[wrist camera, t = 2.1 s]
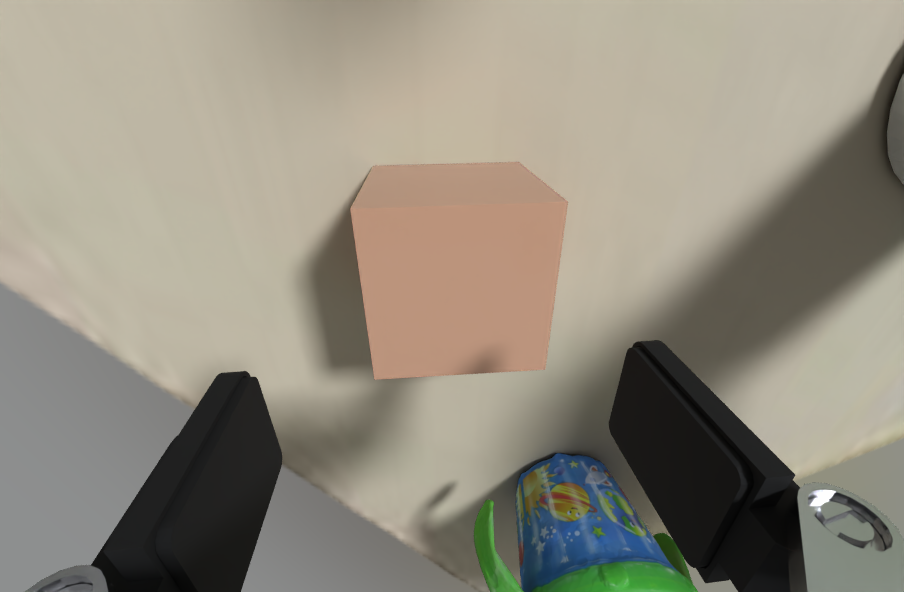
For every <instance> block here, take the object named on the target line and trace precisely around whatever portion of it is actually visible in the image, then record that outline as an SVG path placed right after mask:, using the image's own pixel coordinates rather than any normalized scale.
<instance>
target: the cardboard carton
mask: <svg viewBox="0 0 904 592" xmlns="http://www.w3.org/2000/svg"><path fill="white" fill-rule="evenodd" d="M567 206H568V201H567V200H565V199H564V198H563V197H562V196H560V195H559V194H558V193H557V192H555V191H554V190H553V189H552V188H551V187H549V186H548V185H547V184H546V183H544V182H543V181H542V180H541V179H539V178H538V177H537V176H536V175H535V174H533V173H532V172H531V171H530V170H528V169H527V168H526V167H525V166H523V165H522V164H521V163H520V162H505V163H467V164H428V165H390V166H373V167H372V169H371V171H370V173H369V174H368V176H367V178H366V180H365V182H364V184H363V186H362V188H361V189H360V191H359V193H358V195H357V197H356V199H355V201H354V203H353V204H352V206H351V208H350V211H351V218H352V225H353V232H354V239H355V246H356V253H357V260H358V267H359V274H360V281H361V288H362V295H363V302H364V309H365V316H366V323H367V331H368V338H369V345H370V352H371V359H372V366H373V373H374V380H376V379H393V378H410V377H427V376H444V375H461V374H478V373H494V372H511V371H528V370H545V367H546V360H547V353H548V345H549V338H550V331H551V323H552V316H553V309H554V301H555V294H556V287H557V279H558V272H559V264H560V257H561V250H562V242H563V235H564V228H565V220H566V213H567Z"/></svg>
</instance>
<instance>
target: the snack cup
mask: <svg viewBox="0 0 904 592" xmlns="http://www.w3.org/2000/svg"><path fill="white" fill-rule="evenodd" d="M515 500H516V514H517V533H518V548H519V559H520V560H519V561H520V576H521V586H522V589H521V587H520V586H519V584H518V583H517V581H516V580H515V578H514V577H513V575H512V574H511V572H510V571H509V570H508V568H507V567H506V565H505V564H504V562H503V561H502V559H501V558H500V556H499V555H498V554H497V552H496V550H495V545H494V520H493V506H494V502H493V501H492V500H486V501H485V503H484V505H483V507H482V508H481V509H480V511H479V513H478V516H477V519H476V522H475V528H474V542H475V548H476V553H477V556H478V559H479V563H480V567H481V570H482V572H483V575H484V578H485V580H486V583H487V585H488V587H489V590H490V592H698V591H697V589H696V588H695V586H694V585H693V583H692V580H691V577H690V574H689V571H688V569H687V566H686V564H685V561H684V558H683V556H682V554H681V552H680V550H679V549H678V547H677V545H676V544H675V542H674V541H673V539H672V538H671V537H670V536H668V535H667V534H665V533H659V534H656V535H654V536H652V534H651V533H650V532H649V531H648V530H647V527H646V525H645V524H644V522H643V521H642V520H641V519H640V518H639V516H638V515H637V513H636V510H635V509H634V507H633V506H632V504H631V503H630V501H629V500H628V498H627V497H626V495H625V494H624V492H623V491H622V489H621V488H620V487H619V486H618V484H617V483H616V481H615V480H614V479H613V477H612V476H611V474H610V472H609V471H608V470H607V468H606V467H605V466H604V464H602V463H601V462H600V461H595V460H594V459H593V458H590V457H588V456H582V455H575V456H570V455H566V454H561V453H557V454H555V455H554V456H553V457H552V458H551V459H548V460H545V461H542V462H539V463H537V464H536V465H534V466H533V467H531V468H530V469H529V470H528V471H526V472H525V473H522V474H521V476H520V478H519V480H518V486H517V490H516V498H515Z"/></svg>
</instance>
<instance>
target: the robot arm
mask: <svg viewBox="0 0 904 592" xmlns="http://www.w3.org/2000/svg"><path fill="white" fill-rule="evenodd" d="M887 145H888V156H889V159H890V162H891V165H892V168H893V171H894V173H895V174H896V176H897V177H898V178H899V180H900V181H901V182H902V184H903V185H904V73H903V75H902V77H901V79H900V81H899V85H898V88H897V91H896V94H895V97H894V100H893V103H892V106H891V110H890V116H889V123H888V129H887ZM609 428H610V432H611V435H612V437H613V438H614V440H615V442H616V443H617V445H618V447H619V449H620V450H621V452H622V454H623V455H624V457H625V459H626V460H627V462H628V464H629V466H630V467H631V469H632V471H633V472H634V474H635V476H636V477H637V479H638V481H639V483H640V484H641V486H642V488H643V489H644V491H645V493H646V494H647V496H648V498H649V499H650V501H651V503H652V505H653V506H654V508H655V510H656V511H657V513H658V515H659V516H660V518H661V520H662V522H663V523H664V525H665V527H666V528H667V530H668V532H669V533H670V535H671V537H672V538H673V540H674V542H675V544H676V545H677V547H678V549H679V550H680V552H681V554H682V555H683V557H684V559H685V560H686V562H687V563H688V564H689V565H690V566H691V567H693V568H696V569H697V570H698V572H699V574H700V575H701V577H702V579H703V580H704V582H705V583H711V582H719V581H726V580H729V579H730V580H731V581H732V583H733V584H734V586H735V588H736V589H737V590H738V592H904V539H903V538H902V536H901V534H900V532H899V530H898V529H897V527H896V526H895V525H894V524H893V523H892V522H891V521H890V520H889V518H888V517H887V516H886V515H884V514H883V513H882V512H881V511H880V510H878V509H877V508H876V507H875V506H873V505H872V504H871V503H869V502H867V501H866V500H864V499H862V498H861V497H859V496H858V495H856V494H853V493H851V492H849V491H847V490H844V489H843V488H840V487H837V486H833V485H830V484H827V483H816V482H813V483H809V484H804V485H803V486H802V487H801V488H800V487H799V486H798V485H797V484H796V483H795V482H794V481H793V478H794V476H795V474H794V473H793V472H792V471H791V470H790V469H789V468H788V467H787V466H786V465H785V464H784V463H783V462H782V461H781V460H780V459H779V458H778V457H777V456H776V455H775V454H774V453H773V452H772V451H771V450H770V449H769V448H768V447H767V446H766V445H765V444H764V443H763V442H762V441H761V440H760V439H759V438H758V437H757V436H756V435H755V434H754V433H753V432H752V431H751V430H750V429H749V428H748V427H747V426H746V425H745V424H744V423H743V422H742V421H741V420H740V419H739V418H738V417H737V416H736V415H735V414H734V413H733V412H732V411H731V410H730V409H729V408H728V407H727V406H726V405H725V404H724V403H723V402H722V401H721V400H720V399H719V398H718V397H717V396H716V395H715V394H714V393H713V392H712V391H711V390H710V389H709V388H708V387H707V386H706V385H705V384H704V383H703V382H702V381H701V380H700V379H699V378H698V377H697V376H696V375H695V374H694V373H693V372H692V371H691V370H690V369H689V368H688V367H687V366H686V365H685V364H684V363H683V362H682V361H681V360H680V359H679V358H678V357H677V356H676V355H675V354H674V353H673V352H672V351H671V350H670V349H669V348H668V347H667V346H666V345H665V344H664V343H663V342H661V341H658V340H654V341H641V342H636V343H635V344H634V345H633V347H632V348H629V349H628V351H627V353H626V357H625V361H624V365H623V369H622V373H621V377H620V381H619V385H618V389H617V393H616V396H615V400H614V404H613V408H612V412H611V416H610V420H609ZM281 465H282V452H281V449H280V446H279V443H278V440H277V437H276V434H275V430H274V427H273V424H272V421H271V418H270V415H269V412H268V409H267V406H266V403H265V400H264V397H263V394H262V391H261V388H260V385H259V382H258V379H257V378H256V377H250V374H249V373H248V372H246V371H242V372H228V373H220V374H218V375H217V377H216V378H215V379H214V381H213V383H212V384H211V386H210V387H209V389H208V390H207V392H206V393H205V395H204V396H203V398H202V400H201V401H200V403H199V404H198V406H197V407H196V409H195V410H194V412H193V414H192V415H191V417H190V418H189V420H188V421H187V423H186V425H185V426H184V428H183V429H182V430H181V432H180V434H179V435H178V436H177V437H176V438H175V439H174V440H173V441H172V442H171V444H170V445H169V447H168V448H167V450H166V451H165V453H164V454H163V456H162V457H161V459H160V460H159V462H158V464H157V465H156V467H155V468H154V470H153V471H152V473H151V474H150V476H149V477H148V479H147V480H146V482H145V483H144V485H143V486H142V488H141V489H140V491H139V492H138V494H137V495H136V497H135V499H134V500H133V502H132V503H131V505H130V506H129V508H128V509H127V511H126V512H125V514H124V515H123V517H122V519H121V520H120V521H119V523H118V525H117V526H116V528H115V529H114V531H113V532H112V534H111V535H110V537H109V538H108V540H107V541H106V543H105V544H104V546H103V547H102V549H101V551H100V552H99V554H98V555H97V557H96V558H95V560H94V561H93V563H92V564H91V565H81V566H74V567H70V568H67V569H64V570H60V571H58V572H56V573H54V574H52V575H50V576H48V577H46V578H44V579H42V580H41V581H39V582H38V583H36V584H35V585H33V586H32V587H31V588H29V589H28V590H26V591H25V592H241V589H242V586H243V583H244V580H245V577H246V573H247V571H248V567H249V564H250V561H251V558H252V555H253V552H254V549H255V546H256V543H257V540H258V537H259V534H260V531H261V527H262V524H263V521H264V518H265V515H266V512H267V509H268V506H269V503H270V500H271V496H272V493H273V491H274V487H275V484H276V481H277V478H278V475H279V472H280V469H281Z"/></svg>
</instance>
